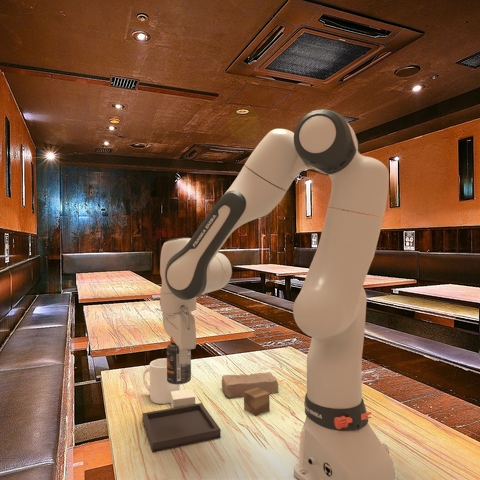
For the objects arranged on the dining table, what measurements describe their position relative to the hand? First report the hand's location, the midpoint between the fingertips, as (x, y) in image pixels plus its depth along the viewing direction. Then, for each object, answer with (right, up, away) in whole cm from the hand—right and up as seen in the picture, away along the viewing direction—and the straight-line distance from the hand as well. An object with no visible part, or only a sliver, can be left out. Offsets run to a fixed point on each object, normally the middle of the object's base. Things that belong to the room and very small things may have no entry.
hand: (179, 358), depth 96 cm
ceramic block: (-1, -18, +12) cm, 22 cm away
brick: (+18, -18, +24) cm, 35 cm away
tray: (0, -18, 0) cm, 18 cm away
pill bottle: (0, -6, 0) cm, 6 cm away
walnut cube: (+20, -18, +10) cm, 28 cm away
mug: (-9, -18, +19) cm, 28 cm away
